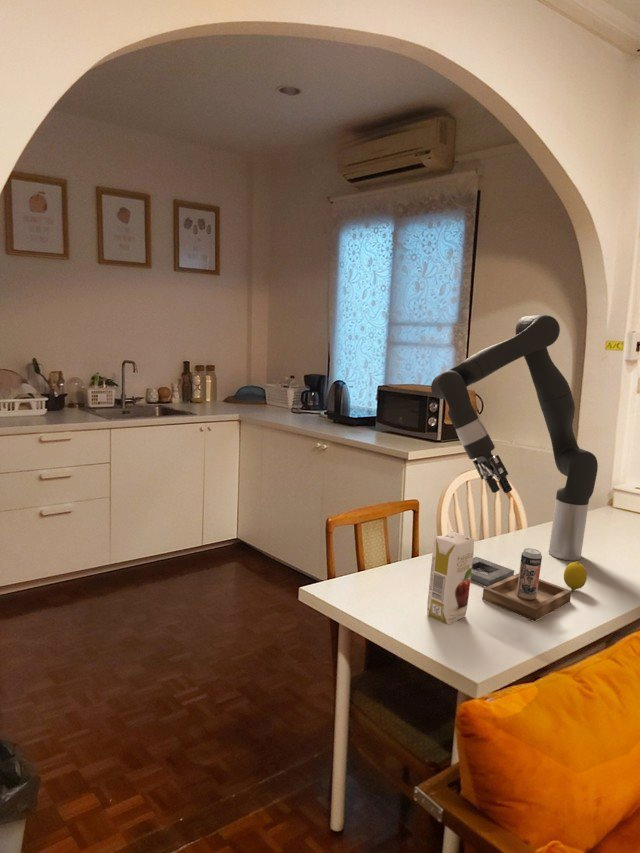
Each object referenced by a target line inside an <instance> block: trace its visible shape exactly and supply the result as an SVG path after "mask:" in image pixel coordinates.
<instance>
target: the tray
mask: <svg viewBox="0 0 640 853" xmlns="http://www.w3.org/2000/svg"><path fill="white" fill-rule="evenodd" d="M518 578H519V572H518V573H516V574H514V575H513V576H511V577H509V578H506V579H504V580H502V581H499V582H497V583H495V584H492V585H490V586H488V587H486V586H484V587H483V588H482V599H481V600H482V601H483V602H484V601H485V602H487V603H489V604H491V605H494V606H496V607H499V608H501V609H503V610H506V611H508V612H510V613H513V614H515V615H517V616H520V617H523V618H525V619H527V620H529V621H533V622H536V621H538V620H540V619H542V618H544V617H546V616H547V615H549V614H551V613H553V612H555V611H557V610H559V609H560V608H562V607H565V606H566V605H567V604H569V603H571V598H572V591H573V590H572V589H571V590H570V589H568V588H565V587H563V586H560V585H557V584H553V583H551V582H549V581H545V580H544V579H540V578H539V583H538V590H537V597H536V598H535V599H533V600H525V599H522V598H520V597H519V596H518V595H517V586H518Z"/></svg>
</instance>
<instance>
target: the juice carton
mask: <svg viewBox="0 0 640 853" xmlns="http://www.w3.org/2000/svg"><path fill="white" fill-rule="evenodd" d="M433 541H434V542H433V546H432V554H431V555H432V556H431V565H430V573H429V583H428V584H429V586H428V592H427V593H428V594H427V607H426V608H427V609H426V615H427V616H428V617H431V618H434V619H435V620H438V621H440V622H442V623H445V624H446V625H452V624H453V623H455V622H456V621H458V620H460V619H463V618H465V617H466V615H467V611H468V604H469V595H470V587H471V571H472V562H473V558H474V552H475V551H474V550H475V546H474V545H475V538H473V537H470V536H468V535H464V534H462V533H457V532H454V531H449V532H447V533H446V534H444V535H438V536H437V535H436V536H434V540H433Z"/></svg>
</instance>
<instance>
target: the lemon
mask: <svg viewBox="0 0 640 853" xmlns="http://www.w3.org/2000/svg"><path fill="white" fill-rule="evenodd" d="M587 578H588V577H587V570H586V568H585V566H584V565H583V564H582V563H580V562H579V561H578V560H575V561H572V562H570V563H569V564H567V565H566V567H565V569H564V573H563V581H564V583H565V585H566V586H567V587H568V588H570V589H571V591H576V590H579V589H582V588H583V587H584V586H585V584H586V582H587Z"/></svg>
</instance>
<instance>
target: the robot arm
mask: <svg viewBox="0 0 640 853" xmlns="http://www.w3.org/2000/svg"><path fill="white" fill-rule="evenodd" d="M560 327H561V326H560V324H559V322H558V320H557V319H556V318H555V317H553V316H551V315H548V314H535V315H534V314H533V315H526V316H525V315H524V316H522V317H521V318H519V319H518V321H517V323H516V325H515V335H514V336H513V337H511V338H509V339H506V340H504V341H501V342H498V343H496V344H493V345H490V346H488V347H486V348H483V349H482V350H480V351H477V352H476V353H474V354H473V355H470V356H469V357H468V358H466V359H464V360H463V361H462V362H460V363H459V364H458V365H456V366H454V367H452V368H450V369H448V370H446V371H443V372H442V373H439V374H438V375H437V376H435V377H434V378H433V380H432V382H431V385H430V390H431V392H432V394H433V396H434V397H435V398H437V399H439V400H445V401H446V404H447V406H448V411H447V415H448V418H449V420H450V421H451V423H452V426H453V428H454V430H455V432H456V435H457V437H458V439H459V441H460V443H461V445H462V447H463V449H464V451H465V453H466V455H467V457H468V459H469V460H472V462H473V465H474V467H475V468H476V471H477V473H478V476H479V477H480V479H481V480H484V481H485V482H486V483H487V485H488V487H489V489H490V491H491V493H493V494H496V493H498V492H499V491H500V488H501V490H502V492H503V493H504V494H508V493H510V492H511V491H512V490H513V487H512V486H511V484H510V482H509V480H508V478H507V477H508V476H509V472H508V470H507V468H506V467H505V466H506V465H505V464H504V463H503V461H502V460H501V458H500V455H499V454H495V455H493V453H492V451H493V450H495V448H496V447H495V446H496V445H495V444H494V442H493V440H492V438H491V436H490V435H489V432H488V431H487V428H486V426H485V425H484V423H483V422H482V421H481V419H480V417H479V416H478V413H477V412H476V410H475V408H474V406H473V405H472V400H471V397H470V394H469V391H468V388H467V387H468V386H470V385H473V384H476V383H477V382H480V381H481V380H483V379H485V378H487V377H488V376H491V374H493V373H494V372H497V371H498V370H499V369H501V368H503V367H505V366H507V365H509V364H510V363H513V362H514V361H517V360H518V359H521V358H523V357H524V360H525V362H526V365H527V368H528V369H529V372H530V377H531V380H532V383H533V385H534V388H535V392H536V395H537V399H538V402H539V406H540V409H541V412H542V415H543V418H544V421H545V425H546V428H547V431H548V435H549V438H550V441H551V442H550V443H551V447H552V452H553V457H554V462H555V466H556V468H557V470H558V472H560V473H561V474H562V475H563V476H564V477H566V482H565V486H564V487H561V488H558V489H557V491H556V495H555V500H554V503H555V504H554V509H553V517H552V526H551V531H550V532H551V533H550V539H549V548H548V554H549V555H550V556H552V557H554V558H557V559H560V560H564V561H579V560H581V558H582V552H583V545H584V538H585V532H586V526H587V525H586V524H587V519H588V518H587V517H588V509H589V503H590V499H591V497H592V496H593V493H594V491H595V484H596V479H597V474H598V467H599V466H598V464H599V463H598V459H597V457H596V456H595V454H594V453H592V452H591V451H588V450H585V449H582V448H580V446H579V444H578V442H577V440H576V436H575V433H574V428H573V423H574V417H575V410H576V406H575V401H574V396H573V393H572V390H571V387H570V385H569V383H568V380H567V379H566V378H565V376H564V375H563V373H562V372H561V371H560V370H559V368H558V367H557V365H556V364H555V363H554V361H553V360H552V357H551V356H550V353H549V350H548V347H550V346H552V345H553V344H555V342H556V341H557V340H558V338H559V337H560V331H561V328H560ZM496 480H497V481H498V483H497V481H496ZM498 484H499V485H500V486H499V485H498Z"/></svg>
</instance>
